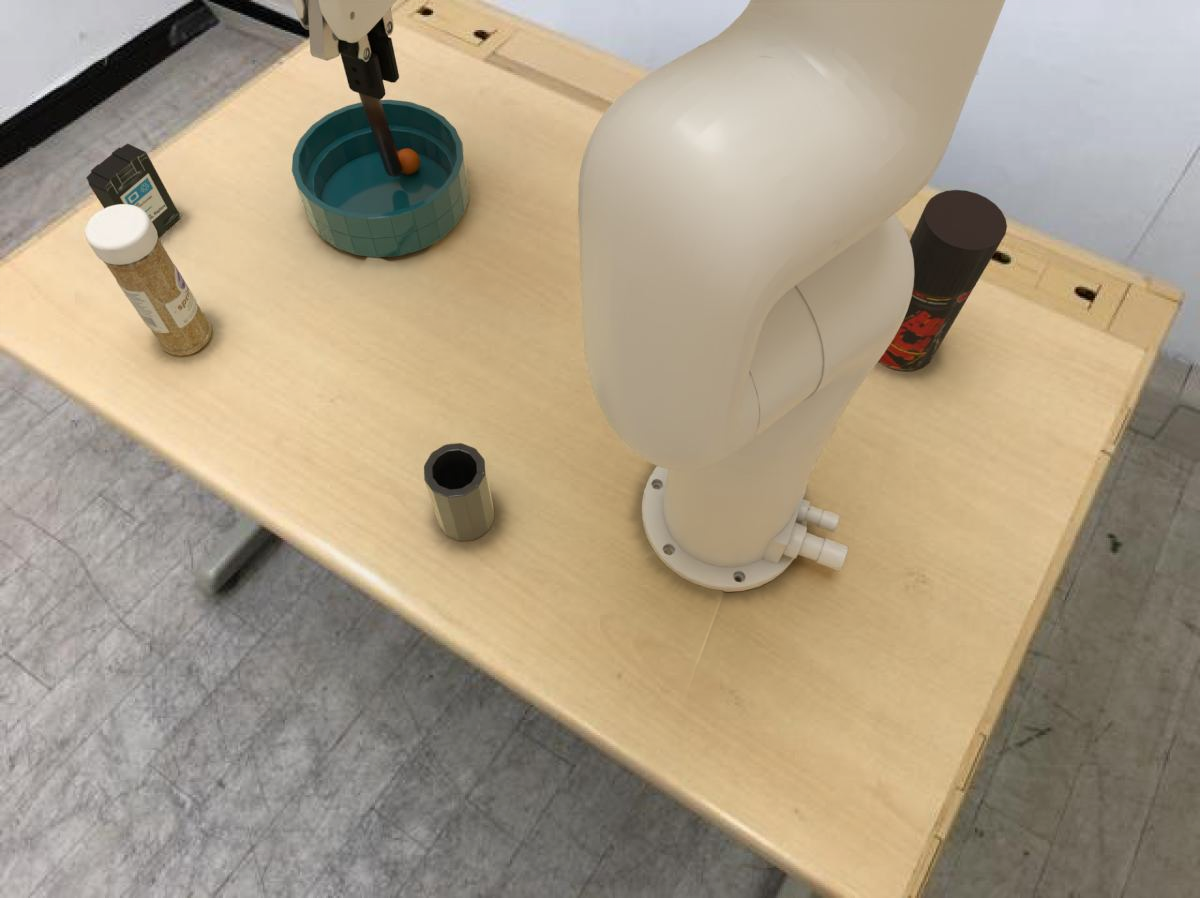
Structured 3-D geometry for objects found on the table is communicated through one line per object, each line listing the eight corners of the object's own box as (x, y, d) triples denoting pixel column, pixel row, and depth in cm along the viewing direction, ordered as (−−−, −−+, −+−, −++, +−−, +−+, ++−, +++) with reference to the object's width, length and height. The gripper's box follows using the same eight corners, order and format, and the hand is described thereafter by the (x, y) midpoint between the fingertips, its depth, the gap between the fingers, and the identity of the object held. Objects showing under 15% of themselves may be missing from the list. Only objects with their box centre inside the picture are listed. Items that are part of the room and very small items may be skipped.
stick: (407, 171, 84) (357, 16, 71) (398, 182, 83) (347, 27, 70) (392, 167, 84) (340, 13, 71) (384, 178, 84) (330, 24, 70)
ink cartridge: (144, 252, 81) (103, 185, 74) (125, 242, 81) (83, 175, 74) (182, 217, 83) (146, 150, 76) (163, 208, 83) (126, 140, 76)
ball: (423, 171, 86) (425, 150, 84) (411, 183, 85) (413, 161, 83) (401, 161, 86) (403, 140, 84) (388, 172, 85) (390, 151, 83)
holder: (503, 506, 68) (495, 455, 62) (479, 552, 67) (467, 505, 60) (455, 487, 69) (441, 435, 62) (430, 532, 67) (412, 483, 60)
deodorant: (947, 342, 77) (1022, 218, 64) (910, 383, 75) (979, 263, 62) (891, 305, 79) (952, 178, 66) (852, 344, 77) (908, 219, 64)
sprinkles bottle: (221, 342, 76) (156, 231, 64) (169, 366, 74) (93, 256, 63) (201, 307, 78) (135, 192, 66) (150, 329, 76) (73, 216, 65)
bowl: (496, 172, 87) (491, 126, 82) (421, 282, 79) (411, 239, 75) (360, 129, 89) (348, 82, 84) (276, 231, 82) (258, 186, 77)
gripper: (305, -77, 55) (367, 156, 71) (425, -192, 62) (456, 43, 78) (203, -105, 56) (286, 130, 72) (332, -215, 63) (382, 21, 79)
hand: (374, 83), depth 75 cm, fingers closed on stick, 1 cm apart
